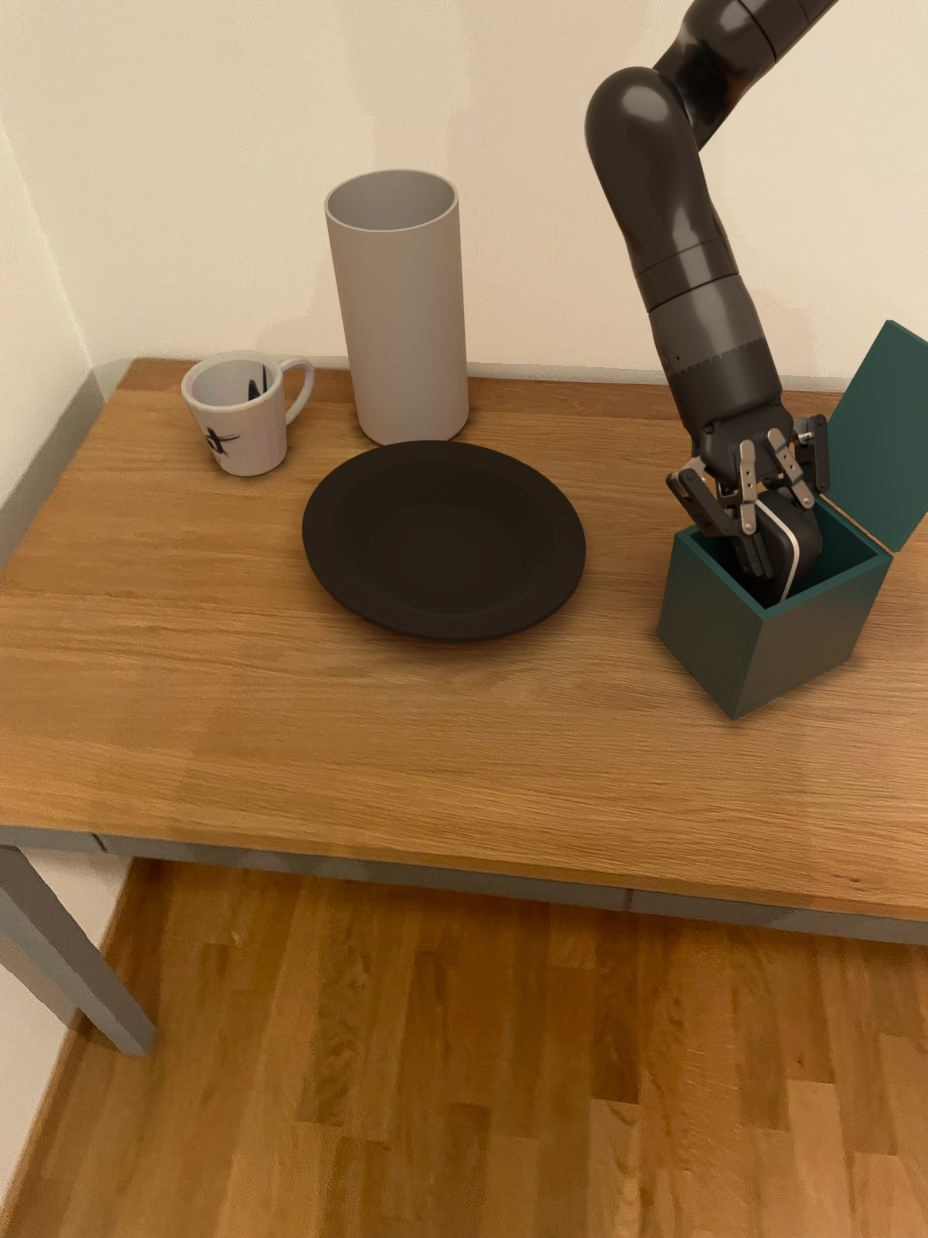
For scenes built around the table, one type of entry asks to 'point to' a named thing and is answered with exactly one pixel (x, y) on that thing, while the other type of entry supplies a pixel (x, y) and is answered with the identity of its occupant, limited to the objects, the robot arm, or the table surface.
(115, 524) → the table surface
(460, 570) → the plate
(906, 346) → the cover
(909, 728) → the table surface
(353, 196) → the cylinder vase
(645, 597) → the table surface
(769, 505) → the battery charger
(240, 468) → the mug
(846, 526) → the tray box
